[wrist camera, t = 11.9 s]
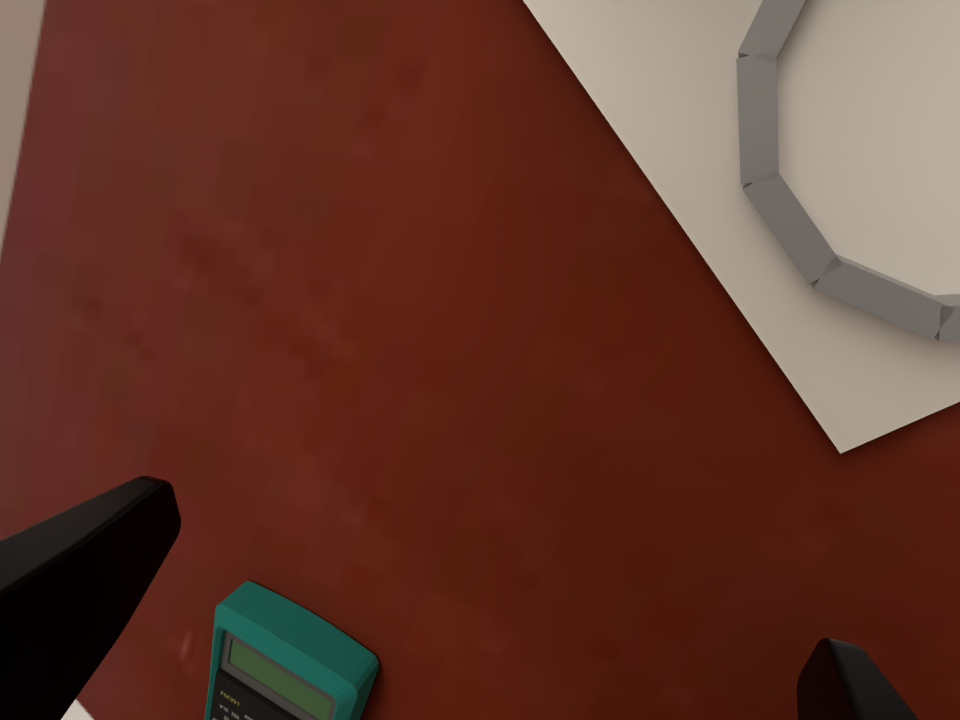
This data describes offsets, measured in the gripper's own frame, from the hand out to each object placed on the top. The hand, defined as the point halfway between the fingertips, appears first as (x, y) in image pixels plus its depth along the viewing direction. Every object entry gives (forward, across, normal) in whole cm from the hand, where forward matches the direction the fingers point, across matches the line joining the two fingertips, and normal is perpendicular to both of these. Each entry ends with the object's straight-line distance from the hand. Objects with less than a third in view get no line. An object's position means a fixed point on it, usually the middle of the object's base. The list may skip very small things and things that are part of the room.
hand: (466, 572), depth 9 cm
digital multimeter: (+9, +10, +24) cm, 28 cm away
